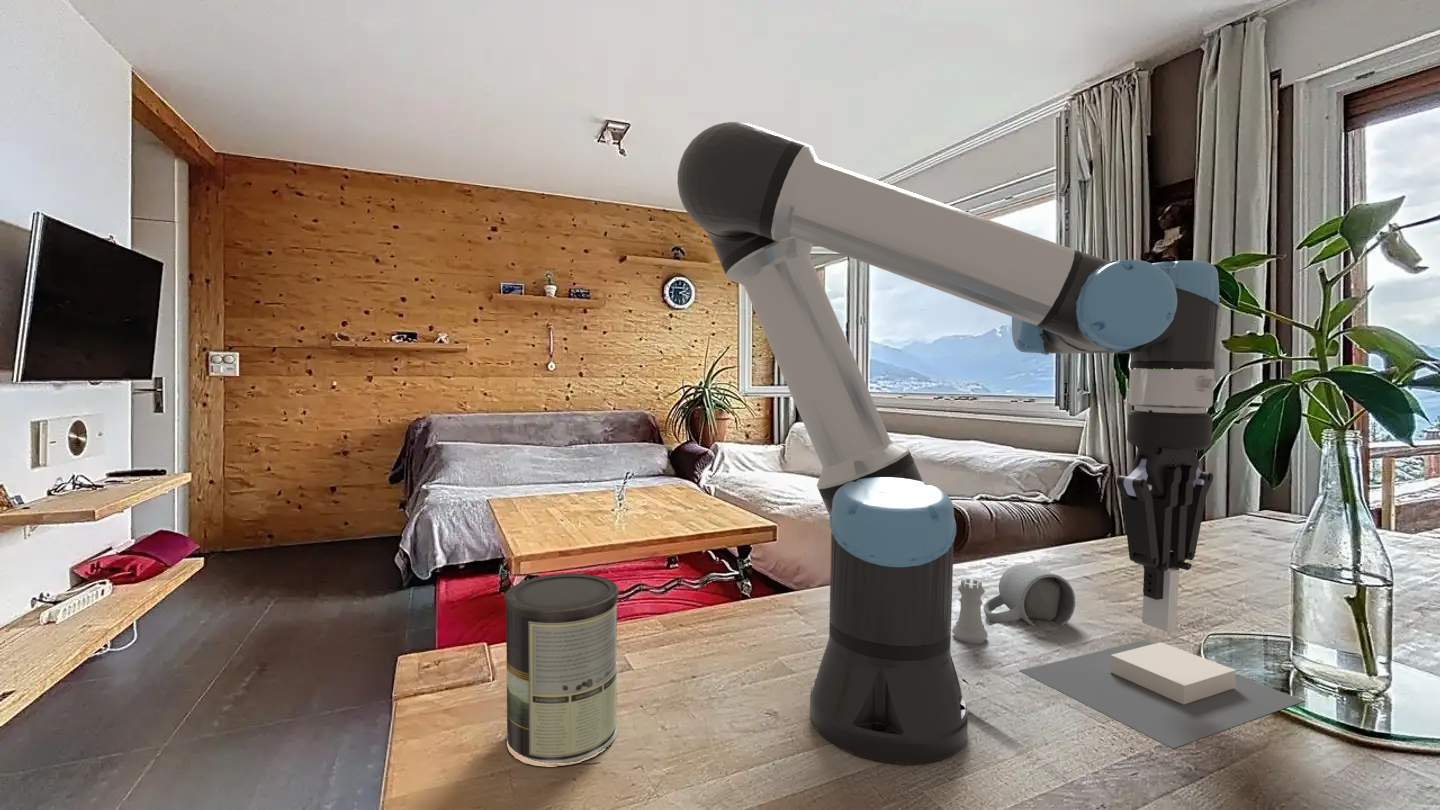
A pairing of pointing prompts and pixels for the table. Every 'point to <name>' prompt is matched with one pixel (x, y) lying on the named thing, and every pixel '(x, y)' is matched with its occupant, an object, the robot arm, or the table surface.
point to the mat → (1157, 699)
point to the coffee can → (561, 666)
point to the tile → (1173, 672)
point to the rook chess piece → (970, 614)
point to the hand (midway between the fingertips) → (1158, 625)
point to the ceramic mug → (1032, 596)
